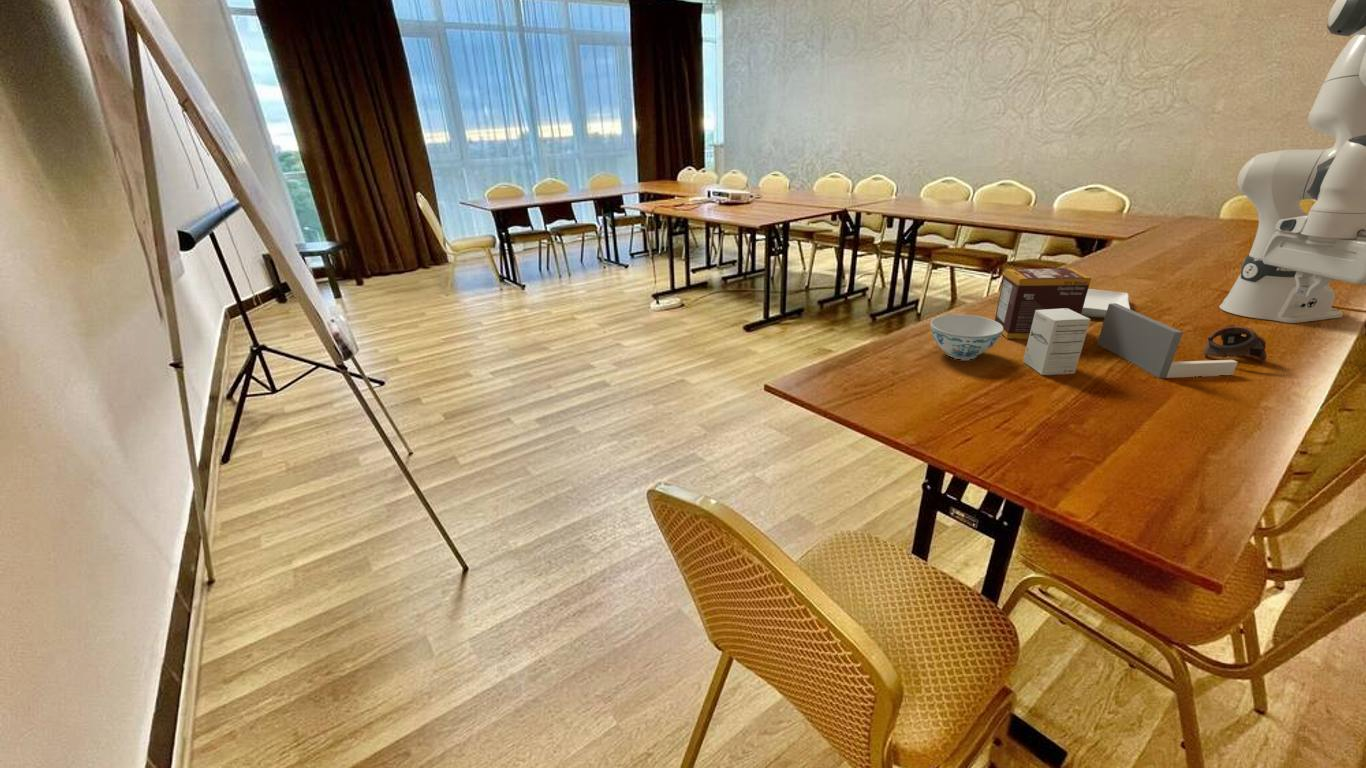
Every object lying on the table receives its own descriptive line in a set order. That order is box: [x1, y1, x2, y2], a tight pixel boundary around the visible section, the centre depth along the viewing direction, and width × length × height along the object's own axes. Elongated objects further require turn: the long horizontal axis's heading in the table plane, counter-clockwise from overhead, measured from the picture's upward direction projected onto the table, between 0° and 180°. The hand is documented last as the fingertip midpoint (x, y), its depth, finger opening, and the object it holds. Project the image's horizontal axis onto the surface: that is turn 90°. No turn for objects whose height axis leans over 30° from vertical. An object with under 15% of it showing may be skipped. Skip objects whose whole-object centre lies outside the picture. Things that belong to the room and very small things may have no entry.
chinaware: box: [930, 314, 1003, 361], centre depth 122 cm, size 15×15×8 cm
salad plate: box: [1081, 288, 1131, 319], centre depth 147 cm, size 21×21×3 cm
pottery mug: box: [1202, 324, 1267, 364], centre depth 112 cm, size 12×10×8 cm
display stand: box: [1096, 303, 1238, 379], centre depth 113 cm, size 14×19×10 cm
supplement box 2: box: [1022, 308, 1092, 376], centre depth 112 cm, size 7×7×13 cm
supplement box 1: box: [994, 267, 1092, 340], centre depth 130 cm, size 10×15×16 cm
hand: (1304, 295), depth 107 cm, fingers closed
